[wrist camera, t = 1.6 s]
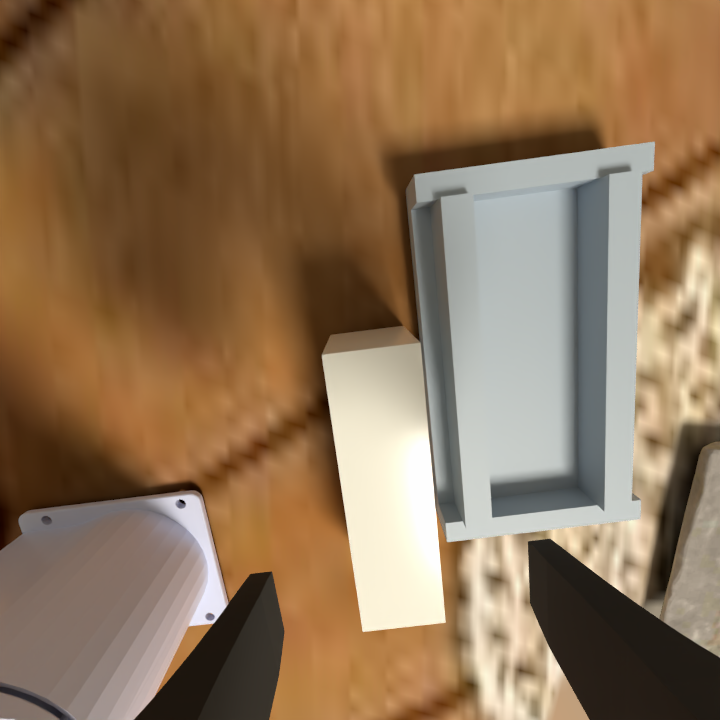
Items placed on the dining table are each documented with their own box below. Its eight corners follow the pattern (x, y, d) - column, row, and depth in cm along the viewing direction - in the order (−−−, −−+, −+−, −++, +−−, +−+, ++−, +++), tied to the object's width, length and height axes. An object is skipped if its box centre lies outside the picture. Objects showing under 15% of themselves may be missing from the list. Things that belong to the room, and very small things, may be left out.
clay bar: (423, 540, 20) (445, 622, 15) (361, 547, 20) (362, 631, 16) (402, 325, 18) (420, 342, 13) (330, 334, 18) (321, 354, 13)
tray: (435, 509, 20) (449, 549, 17) (405, 190, 16) (416, 170, 13) (604, 489, 20) (648, 526, 17) (609, 162, 16) (665, 136, 13)
